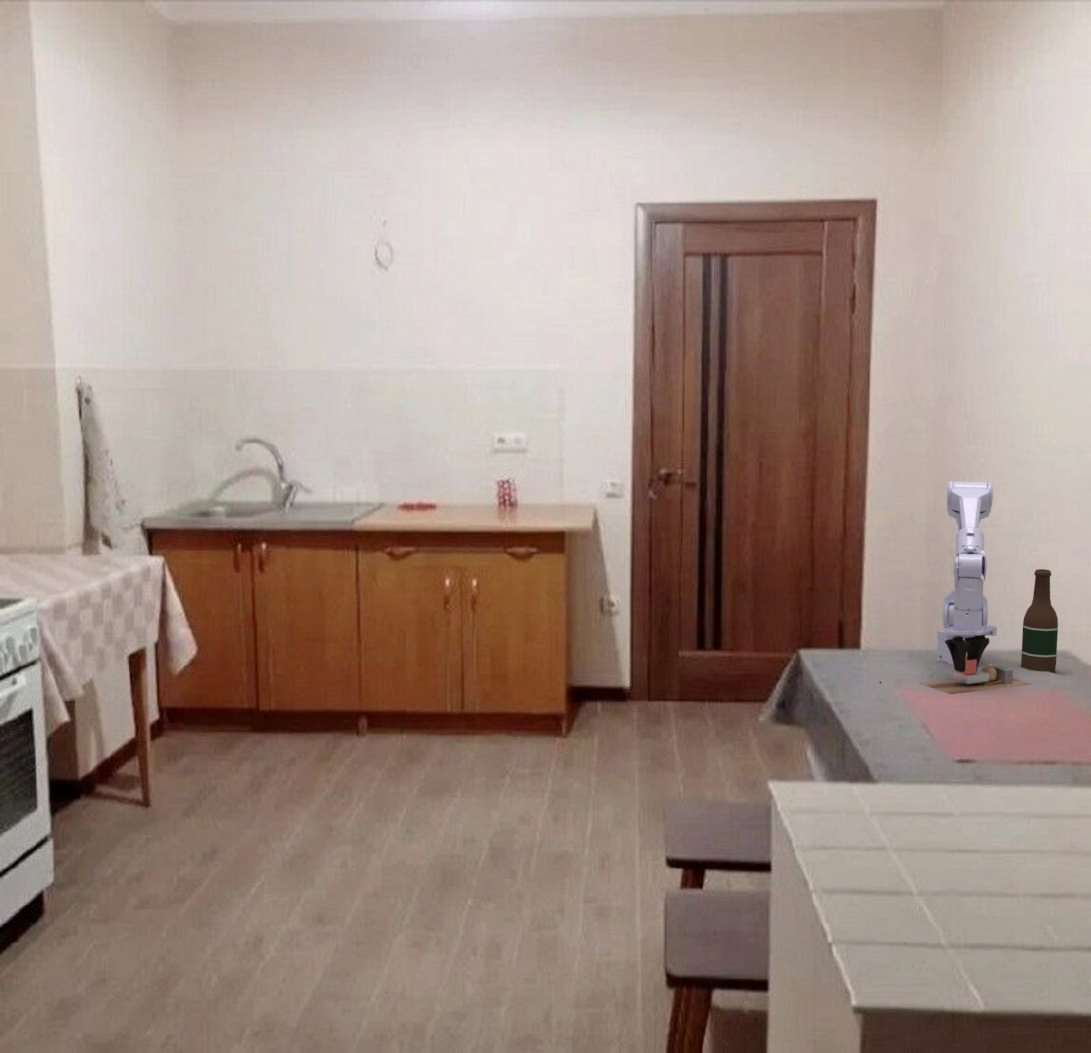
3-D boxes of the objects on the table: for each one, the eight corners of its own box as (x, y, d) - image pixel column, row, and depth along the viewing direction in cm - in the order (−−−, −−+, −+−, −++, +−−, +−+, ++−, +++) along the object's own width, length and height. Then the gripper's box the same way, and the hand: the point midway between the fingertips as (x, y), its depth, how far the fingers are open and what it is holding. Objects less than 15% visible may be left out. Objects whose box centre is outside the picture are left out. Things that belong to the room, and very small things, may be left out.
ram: (952, 679, 242) (953, 656, 241) (974, 676, 244) (975, 654, 244) (967, 683, 238) (968, 661, 237) (989, 681, 240) (989, 658, 239)
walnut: (974, 677, 244) (979, 662, 244) (986, 681, 245) (990, 666, 245) (986, 681, 240) (990, 666, 240) (997, 685, 242) (1002, 669, 242)
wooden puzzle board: (918, 688, 242) (919, 669, 242) (997, 678, 250) (998, 660, 250) (950, 699, 233) (951, 680, 233) (1031, 689, 241) (1032, 670, 240)
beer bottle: (1049, 668, 259) (1054, 567, 257) (1061, 676, 252) (1066, 572, 249) (1015, 668, 260) (1019, 567, 257) (1026, 676, 252) (1031, 572, 250)
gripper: (954, 614, 232) (952, 677, 234) (1008, 609, 238) (1005, 671, 239) (931, 608, 239) (929, 670, 240) (984, 603, 244) (981, 664, 246)
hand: (965, 670), depth 240 cm, fingers closed on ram, 3 cm apart
